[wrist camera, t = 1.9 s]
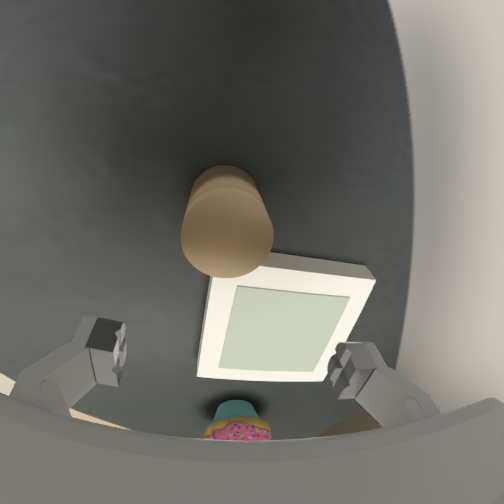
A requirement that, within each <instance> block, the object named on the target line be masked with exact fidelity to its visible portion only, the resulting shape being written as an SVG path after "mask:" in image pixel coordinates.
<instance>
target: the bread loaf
mask: <svg viewBox="0 0 504 504" xmlns="http://www.w3.org/2000/svg"><path fill="white" fill-rule="evenodd" d="M180 239H181V246H182V249H183V252H184V254H185V256H186V258H187V259H188V261H189V262H190V263H191V264H192V265H193V266H194V267H195V268H196V269H198V270H199V271H201V272H203V273H205V274H207V275H209V276H213V277H217V278H236V277H240V276H243V275H246V274H248V273H250V272H252V271H254V270H255V269H256V268H258V267H259V266H260V265H261V264H262V263H263V262H264V261H265V260H266V258H267V257H268V255H269V253H270V251H271V248H272V245H273V240H274V232H273V226H272V223H271V221H270V218H269V216H268V213H267V211H266V208H265V206H264V203H263V201H262V199H261V196H260V194H259V191H258V189H257V186H256V184H255V182H254V180H253V179H252V178H251V176H250V175H249V174H248V173H246V172H245V171H244V170H242V169H240V168H238V167H235V166H230V165H220V166H215V167H212V168H210V169H208V170H206V171H204V172H203V173H202V174H201V175H200V176H199V177H198V178H197V179H196V181H195V182H194V184H193V186H192V189H191V193H190V197H189V201H188V204H187V208H186V212H185V216H184V220H183V224H182V229H181V238H180Z"/></svg>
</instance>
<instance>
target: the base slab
mask: <svg viewBox="0 0 504 504" xmlns="http://www.w3.org/2000/svg"><path fill="white" fill-rule="evenodd" d="M375 281H376V279H375V278H374V277H373V275H372V274H371V273H370V271H369V270H368V269H367V267H366V266H365V265H358V264H351V263H344V262H337V261H330V260H323V259H316V258H309V257H301V256H294V255H287V254H280V253H273V252H270V253H269V255H268V257H267V258H266V260H265V261H264V262H263V263H262V264H261V265H260V266H259V267H258V268H256V269H255V270H254V271H252V272H250V273H248V274H246V275H243V276H240V277H236V278H217V277H213V276H210V281H209V287H208V293H207V299H206V306H205V312H204V318H203V325H202V331H201V338H200V345H199V352H198V359H197V377H207V378H219V379H233V380H252V381H323V380H324V378H325V376H326V375H327V373H328V371H327V367H328V362H329V360H330V358H331V356H333V355H334V354H335V353H336V351H335V348H336V346H337V344H338V343H339V342H345V341H346V339H347V338H348V336H349V334H350V332H351V330H352V328H353V326H354V324H355V322H356V320H357V318H358V317H359V315H360V313H361V311H362V309H363V307H364V305H365V302H366V300H367V298H368V296H369V294H370V292H371V290H372V288H373V286H374V284H375Z"/></svg>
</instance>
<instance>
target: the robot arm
mask: <svg viewBox="0 0 504 504" xmlns="http://www.w3.org/2000/svg"><path fill="white" fill-rule="evenodd" d="M125 331H126V329H125V323H124V322H120V321H115V320H110V319H105V318H100V317H94V316H90V315H86V316H84V317H83V319H82V321H81V323H80V326H79V328H78V330H77V332H76V334H75V336H74V338H73V340H72V342H71V344H65V345H64V346H62V347H60V348H59V349H57V350H55V351H54V352H52V353H50V354H49V355H47V356H45V357H44V358H42V359H40V360H39V361H37V362H35V363H34V364H32V365H30V366H29V367H27V368H26V369H24V370H22V371H21V372H20V374H19V376H18V379H17V381H16V383H15V385H14V387H13V389H12V391H11V393H10V395H9V396H7V395H5V394H2V393H0V504H504V403H502V402H501V401H499V400H497V399H495V398H488V399H485V400H482V401H479V402H477V403H474V404H471V405H468V406H465V407H462V408H459V409H456V410H453V411H450V412H446V413H443V414H441V413H440V411H439V409H438V408H437V406H436V404H435V403H434V401H433V399H432V397H431V396H430V395H429V394H428V393H426V392H425V391H423V390H422V389H421V388H419V387H418V386H416V385H415V384H413V383H412V382H410V381H409V380H408V379H406V378H405V377H403V376H402V375H400V374H399V373H397V372H396V371H395V370H393V369H392V368H388V367H387V365H386V363H385V362H384V360H383V358H382V356H381V355H380V353H379V351H378V350H377V348H376V346H375V344H374V343H372V342H339V343H338V344H337V346H336V348H335V351H336V353H335V354H334V355H333V356H331V358H330V360H329V362H328V367H327V371H328V376H329V378H330V379H331V380H332V381H333V382H334V385H333V389H334V392H335V394H336V397H337V399H352V398H356V399H355V400H356V401H357V402H358V403H359V404H360V405H361V406H362V407H364V408H365V409H366V410H367V411H368V412H369V413H370V414H371V415H372V416H373V417H374V418H375V419H376V420H377V421H378V422H379V423H380V424H381V425H382V426H383V427H382V428H381V429H375V430H370V431H364V432H357V433H351V434H344V435H336V436H328V437H317V438H305V439H291V440H264V441H240V440H212V439H197V438H185V437H175V436H167V435H159V434H151V433H145V432H138V431H132V430H127V429H121V428H116V427H111V426H106V425H102V424H97V423H93V422H89V421H85V420H81V419H77V418H73V417H72V416H71V414H70V412H69V409H70V408H71V407H72V406H73V405H74V404H75V403H76V402H77V401H78V400H80V399H81V398H82V397H83V396H84V395H85V394H86V393H87V392H88V391H89V390H90V389H92V388H93V387H94V386H95V385H96V383H100V384H105V385H111V386H117V387H118V386H119V382H120V378H121V374H122V371H121V366H122V365H123V364H124V362H125V358H126V350H127V343H126V339H125V338H124V335H125Z"/></svg>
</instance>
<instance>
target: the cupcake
mask: <svg viewBox="0 0 504 504" xmlns="http://www.w3.org/2000/svg"><path fill="white" fill-rule="evenodd" d="M204 435H205V439H212V440H240V441H264V440H271V436H272V435H271V429H270V426H269V424H268V423H267V422H266V421H265V420H262V419H260V418H259V416H258V415H257V413H256V411H255V410H254V408H253V406H252V404H251V403H249V402H247V401H244V400H229V401H226V402H223V403H222V404H220V405H219V406H218V408H217V412H216V415H215V417H214V420H213V422H212V423H211V424H210V425H209V426H208V427H207V428H206V430H205V432H204Z"/></svg>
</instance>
